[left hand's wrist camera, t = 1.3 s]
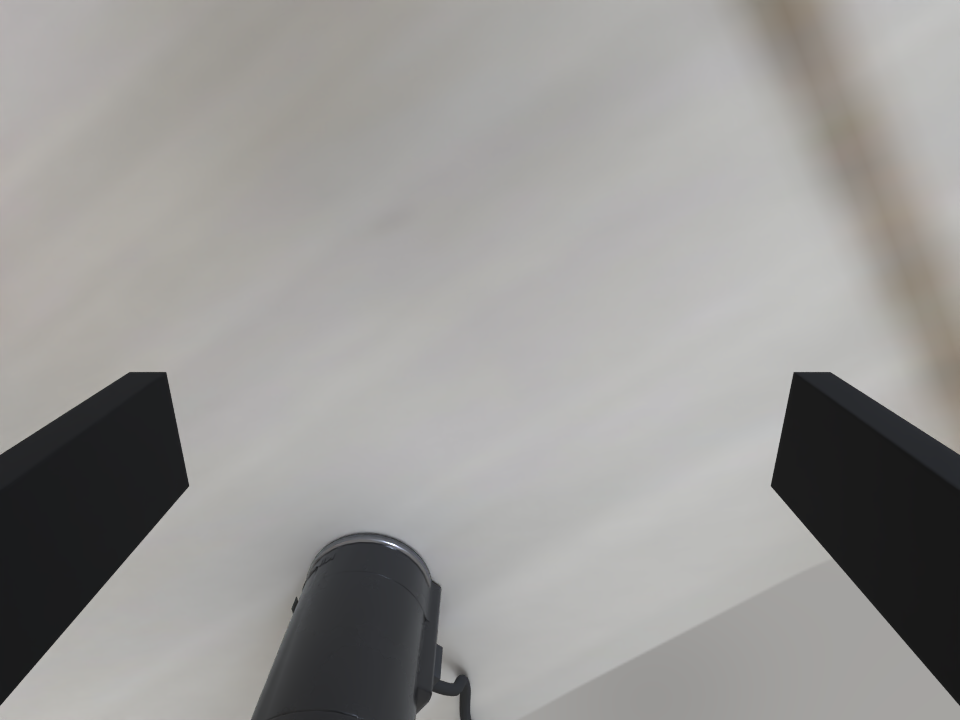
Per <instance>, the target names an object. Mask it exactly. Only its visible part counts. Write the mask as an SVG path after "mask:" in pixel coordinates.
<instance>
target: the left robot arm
mask: <svg viewBox="0 0 960 720" xmlns="http://www.w3.org/2000/svg"><path fill="white" fill-rule="evenodd" d="M188 487H189V483H188V478H187V473H186V468H185V463H184V458H183V453H182V448H181V443H180V438H179V433H178V428H177V423H176V418H175V413H174V408H173V403H172V398H171V394H170V389H169V384H168V379H167V374H166V372H129V373H128V374H126V375H124V376H123V377H121V378H120V379H118V380H117V381H115V382H114V383H112V384H110V385H109V386H107V387H106V388H104V389H103V390H101V391H99V392H98V393H96V394H95V395H93V396H92V397H90V398H89V399H87V400H85V401H84V402H82V403H81V404H79V405H78V406H76V407H74V408H73V409H71V410H70V411H68V412H67V413H65V414H64V415H62V416H60V417H59V418H57V419H56V420H54V421H53V422H51V423H49V424H48V425H46V426H45V427H43V428H42V429H40V430H39V431H37V432H35V433H34V434H32V435H31V436H29V437H28V438H26V439H24V440H23V441H21V442H20V443H18V444H17V445H15V446H14V447H12V448H10V449H9V450H7V451H6V452H4V453H3V454H1V455H0V705H1V704H2V703H3V702H4V701H5V699H6V698H7V697H8V696H9V695H10V694H11V693H12V691H13V690H14V689H15V688H16V687H17V686H18V684H19V683H20V682H21V681H22V680H23V679H24V677H25V676H26V675H27V674H28V673H29V672H30V670H31V669H32V668H33V667H34V666H35V665H36V663H37V662H38V661H39V660H40V659H41V658H42V656H43V655H44V654H45V653H46V652H47V651H48V650H49V648H50V647H51V646H52V645H53V644H54V643H55V641H56V640H57V639H58V638H59V637H60V636H61V634H62V633H63V632H64V631H65V630H66V629H67V627H68V626H69V625H70V624H71V623H72V622H73V620H74V619H75V618H76V617H77V616H78V615H79V613H80V612H81V611H82V610H83V609H84V608H85V607H86V605H87V604H88V603H89V602H90V601H91V600H92V598H93V597H94V596H95V595H96V594H97V593H98V591H99V590H100V589H101V588H102V587H103V586H104V584H105V583H106V582H107V581H108V580H109V579H110V577H111V576H112V575H113V574H114V573H115V572H116V570H117V569H118V568H119V567H120V566H121V565H122V563H123V562H124V561H125V560H126V559H127V558H128V557H129V555H130V554H131V553H132V552H133V551H134V550H135V548H136V547H137V546H138V545H139V544H140V543H141V541H142V540H143V539H144V538H145V537H146V536H147V534H148V533H149V532H150V531H151V530H152V529H153V527H154V526H155V525H156V524H157V523H158V522H159V520H160V519H161V518H162V517H163V516H164V515H165V514H166V512H167V511H168V510H169V509H170V508H171V507H172V505H173V504H174V503H175V502H176V501H177V500H178V498H179V497H180V496H181V495H182V494H183V493H184V491H185V490H186V489H187V488H188ZM771 487H772V488H773V489H774V490H775V491H776V493H777V494H778V495H779V496H780V497H781V498H782V500H783V501H784V502H785V503H786V504H787V505H788V507H789V508H790V509H791V510H792V511H793V512H794V514H795V515H796V516H797V517H798V518H799V519H800V520H801V522H802V523H803V524H804V525H805V526H806V527H807V529H808V530H809V531H810V532H811V533H812V534H813V536H814V537H815V538H816V539H817V540H818V541H819V543H820V544H821V545H822V546H823V547H824V548H825V550H826V551H827V552H828V553H829V554H830V555H831V557H832V558H833V559H834V560H835V561H836V562H837V564H838V565H839V566H840V567H841V568H842V569H843V570H844V572H845V573H846V574H847V575H848V576H849V577H850V579H851V580H852V581H853V582H854V583H855V584H856V586H857V587H858V588H859V589H860V590H861V591H862V593H863V594H864V595H865V596H866V597H867V598H868V599H869V601H870V602H871V603H872V604H873V605H874V606H875V608H876V609H877V610H878V611H879V612H880V613H881V615H882V616H883V617H884V618H885V619H886V620H887V622H888V623H889V624H890V625H891V626H892V627H893V628H894V630H895V631H896V632H897V633H898V634H899V635H900V637H901V638H902V639H903V640H904V641H905V642H906V644H907V645H908V646H909V647H910V648H911V649H912V651H913V652H914V653H915V654H916V655H917V656H918V658H919V659H920V660H921V661H922V662H923V663H924V665H925V666H926V667H927V668H928V669H929V670H930V672H931V673H932V674H933V675H934V676H935V677H936V679H937V680H938V681H939V682H940V683H941V684H942V686H943V687H944V688H945V689H946V690H947V691H948V692H949V694H950V695H951V696H952V697H953V698H954V699H955V701H956V702H957V703H958V704H959V705H960V455H959V454H957V453H956V452H954V451H953V450H951V449H950V448H948V447H946V446H945V445H943V444H942V443H940V442H939V441H937V440H936V439H934V438H932V437H931V436H929V435H928V434H926V433H925V432H923V431H921V430H920V429H918V428H917V427H915V426H914V425H912V424H911V423H909V422H907V421H906V420H904V419H903V418H901V417H900V416H898V415H896V414H895V413H893V412H892V411H890V410H889V409H887V408H886V407H884V406H882V405H881V404H879V403H878V402H876V401H875V400H873V399H871V398H870V397H868V396H867V395H865V394H864V393H862V392H861V391H859V390H857V389H856V388H854V387H853V386H851V385H850V384H848V383H846V382H845V381H843V380H842V379H840V378H839V377H837V376H836V375H834V374H832V373H831V372H794V374H793V379H792V384H791V389H790V394H789V398H788V403H787V408H786V413H785V418H784V423H783V428H782V433H781V438H780V443H779V448H778V453H777V458H776V463H775V468H774V473H773V478H772V483H771Z"/></svg>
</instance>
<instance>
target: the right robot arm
mask: <svg viewBox="0 0 960 720" xmlns="http://www.w3.org/2000/svg"><path fill="white" fill-rule="evenodd" d="M440 598H441V587H440V586H438V585H436V584H435V583H434V582H432V581H431V577H430V573H429V571H428V569H427V567H426V565H425V563H424V562H423V560H422V559H421V558H420V557H419V555H418V554H417V553H416V552H414V551H413V550H412V549H411V548H409V547H408V546H406V545H405V544H403V543H401V542H399V541H397V540H395V539H392V538H389V537H385V536H381V535H375V534H357V535H351V536H347V537H344V538H341V539H338V540H336V541H334V542H332V543H330V544H329V545H328V546H326V547H325V548H324V549H323V550H321V551H320V553H319V554H318V555H317V556H316V558H315V559H314V561H313V563H312V565H311V567H310V570H309V572H308V575H307V579H306V582H305V584H304V587H303V590H302V593H301V596H300V598H299V601H298V600H297V596H296V599H295V601H294V604H293V606H292V612H293V616H292V618H291V621H290V623H289V626H288V628H287V631H286V633H285V636H284V638H283V641H282V643H281V646H280V648H279V651H278V653H277V656H276V658H275V661H274V663H273V666H272V668H271V671H270V673H269V676H268V678H267V681H266V683H265V686H264V688H263V691H262V693H261V696H260V698H259V701H258V703H257V706H256V708H255V711H254V713H253V716H252V718H251V720H416V714H417V713H418V712H419V711H420V710H421V709H422V708H423V707H424V706H425V705H426V704H427V703H428V702H429V700H430V698H431V696H432V691H433V692H436V693H439V694H442V695H447V696H457V695H459V694H460V718H461V720H471V717H470V695H471V690H470V683H469V680H468V678H467V677H466V676H465V675H459V676H458V677H457V678H456V680H455V682H454V683H447V682H444V681H441V680H440V676H441V663H442V649H443V648H442V647H441V646H439V645H438V644H436V643H437V632H438V620H439V609H440Z"/></svg>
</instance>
